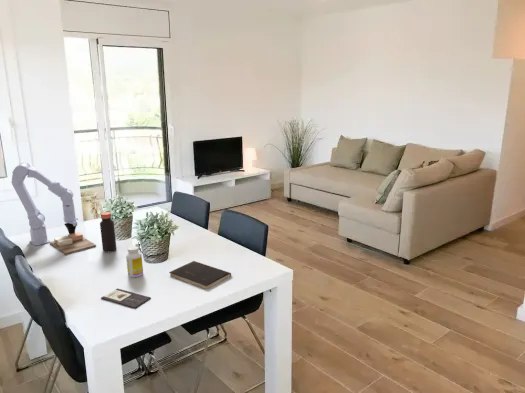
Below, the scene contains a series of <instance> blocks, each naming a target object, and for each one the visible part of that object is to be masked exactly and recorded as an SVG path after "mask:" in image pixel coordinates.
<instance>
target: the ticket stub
mask: <svg viewBox="0 0 525 393" xmlns="http://www.w3.org/2000/svg"><path fill="white" fill-rule="evenodd" d="M67 236H68V237H70V238H71V239H72V241H76V240H80V239H83V237H84V235H83V234H82V233H81V232H79V231H77V232H75V233H73V234H69V233H68V234H67Z"/></svg>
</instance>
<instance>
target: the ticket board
mask: <svg viewBox="0 0 525 393" xmlns="http://www.w3.org/2000/svg"><path fill="white" fill-rule="evenodd" d="M49 245H51V246H52V247H54V248H55V249H56V250H58V251H59V252H61V253H62V254H63V255H66V254H67V255H70V254H74V253H77V251H78V252H81V251H85V250H89V249H91V248H95V247H97V245H96V243H94V242H92V241H90V240H88V239H87V238H85V237H84V236H83V239H80V240H76V241H72V239H71V238H70V237H68V235H63V236H59V237H55V238H54V239H53V240H52V241H50V242H49Z"/></svg>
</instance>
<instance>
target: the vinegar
mask: <svg viewBox="0 0 525 393" xmlns="http://www.w3.org/2000/svg"><path fill="white" fill-rule="evenodd" d="M100 219H101V221H100V222H99V228H100V236H101V245H102V251H103V252H105V253H112V252H115V251H116V250H117V242H116V231H115V221H114V220H112V212H110V211H104V212H101V213H100Z"/></svg>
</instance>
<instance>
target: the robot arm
mask: <svg viewBox="0 0 525 393" xmlns="http://www.w3.org/2000/svg"><path fill="white" fill-rule="evenodd" d="M26 178H31V179H33V178H34V179H36V180H38V182H41V183H42V184H43V185H45V186H46V187H47V189H48V190H49V191H50V192H51V193H52V194H54V195H56V196H57V197H58V198H60V199H59V200H60V201H61V203H62V210H63V222H64V225H63V226H65V227H66V229H67V231H68V234H73V233H76V228H77V226H78V220H79V218H78V217H76V211H75V210H76V209H75V205H74V204H75V203H74V198H73V197H74V193H73V191H72V190H71V189H69V188H67V187H65V186H63V185H61V182H59V181H55V180H54V181H52V180H51V179H49V178H48V177H47V176H45V175H44V174H43V173H42V172H41V171H39V170H38V169H37V168H35V167H34V166H32V165H30V164H29V163H28V162H21V163H19V164H18V165H16V166H15V167H14V169H13V170H12V176H11V182H10V183H11V185H12V186H13V188H14V190H15V192H16V194H17V196H18V198H19V201H20V202H21V204H22V206H23V208H24V209H25V211H26V213H27V219H28V224H29V226H30V229H29V233H30V240H29V243H30V244H32V245H33V246H35V247H37V246H40V245H44V244H48V243H49V244H50V242H51V240H49V239H48V234H47V228H46V224H45V220H46V218H45V215H44V214H43V213H41V211H40V210H39V209H38V208H37V206H36V204H35V202H34V200H33V198H32V196H31V194H30V193H29V191H28V189H27V187H26V185H25V183H24V182H25V180H26Z"/></svg>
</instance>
